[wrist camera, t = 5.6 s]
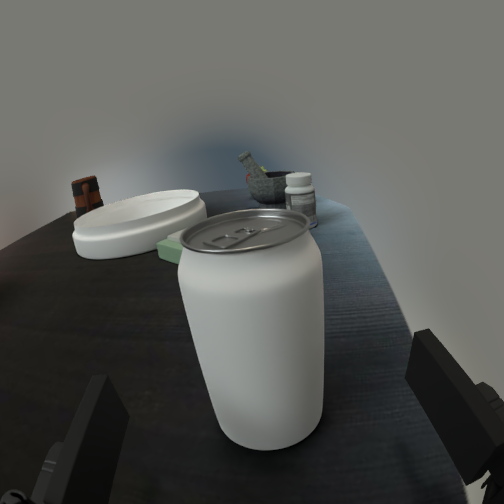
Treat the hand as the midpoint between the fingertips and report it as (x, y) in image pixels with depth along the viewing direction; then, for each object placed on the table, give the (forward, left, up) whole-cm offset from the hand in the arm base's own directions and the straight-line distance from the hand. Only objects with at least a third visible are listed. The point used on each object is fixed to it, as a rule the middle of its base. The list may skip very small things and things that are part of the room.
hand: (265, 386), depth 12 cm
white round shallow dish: (+50, -21, -7) cm, 54 cm away
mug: (+82, -22, -7) cm, 85 cm away
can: (+3, -3, -7) cm, 8 cm away
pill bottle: (+22, -35, -7) cm, 41 cm away
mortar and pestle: (+34, -42, -7) cm, 54 cm away
